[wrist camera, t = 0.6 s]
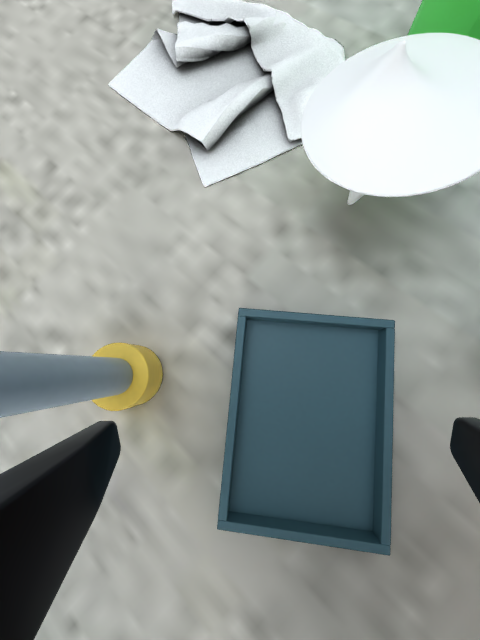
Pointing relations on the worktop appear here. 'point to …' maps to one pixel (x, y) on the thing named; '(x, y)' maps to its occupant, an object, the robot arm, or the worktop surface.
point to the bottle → (448, 17)
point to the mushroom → (398, 117)
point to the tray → (310, 430)
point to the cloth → (230, 81)
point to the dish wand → (78, 379)
